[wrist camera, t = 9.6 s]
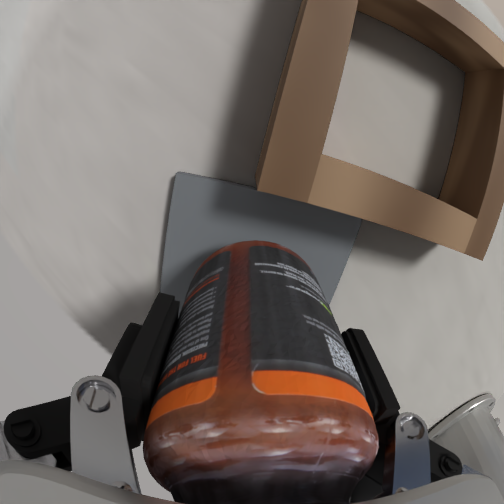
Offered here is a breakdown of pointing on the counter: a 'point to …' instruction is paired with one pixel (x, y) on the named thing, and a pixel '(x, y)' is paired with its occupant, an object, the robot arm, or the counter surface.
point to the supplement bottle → (258, 389)
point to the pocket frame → (370, 183)
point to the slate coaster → (249, 230)
